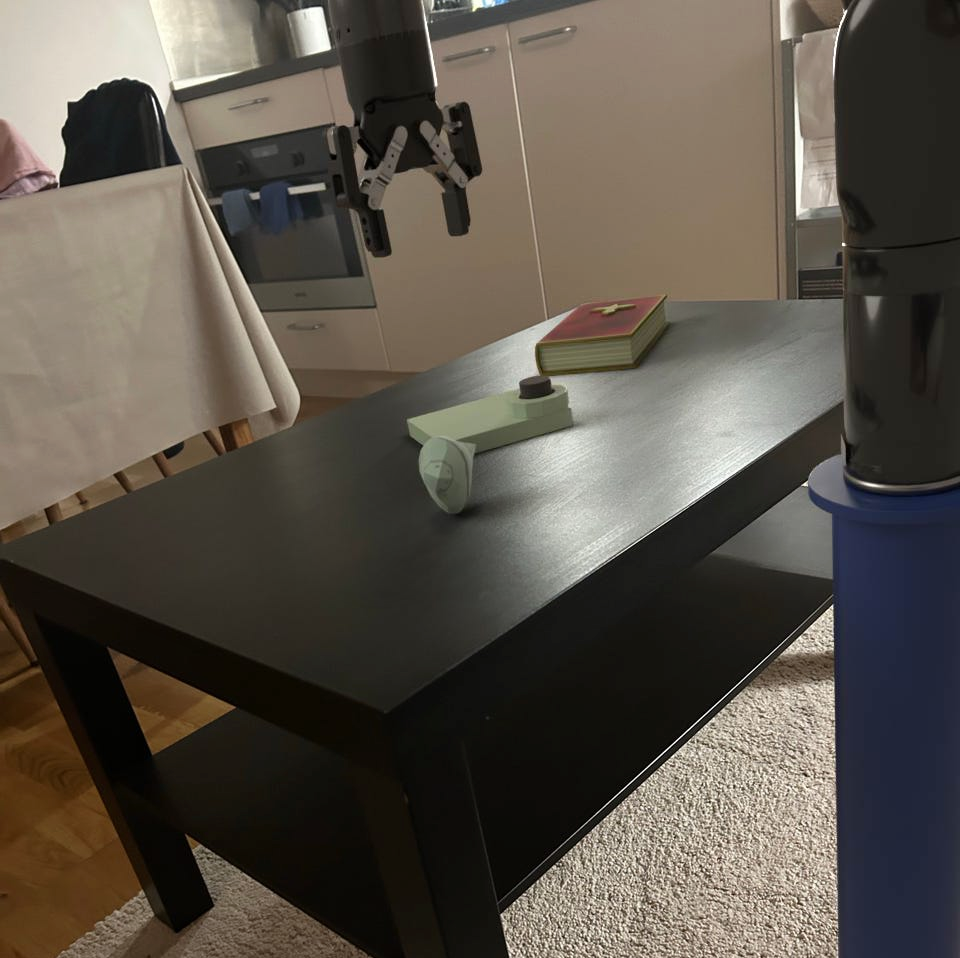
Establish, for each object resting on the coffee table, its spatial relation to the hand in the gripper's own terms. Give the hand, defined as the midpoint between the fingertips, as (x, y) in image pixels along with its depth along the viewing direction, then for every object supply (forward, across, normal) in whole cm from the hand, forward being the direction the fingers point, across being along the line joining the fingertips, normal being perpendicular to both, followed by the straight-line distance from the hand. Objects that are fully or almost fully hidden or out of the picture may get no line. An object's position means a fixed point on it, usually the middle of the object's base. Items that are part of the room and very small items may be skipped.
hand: (421, 245), depth 89 cm
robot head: (+20, -9, -10) cm, 24 cm away
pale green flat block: (+20, +8, +5) cm, 22 cm away
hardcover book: (+20, +37, +17) cm, 45 cm away
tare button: (+17, +11, +1) cm, 20 cm away
